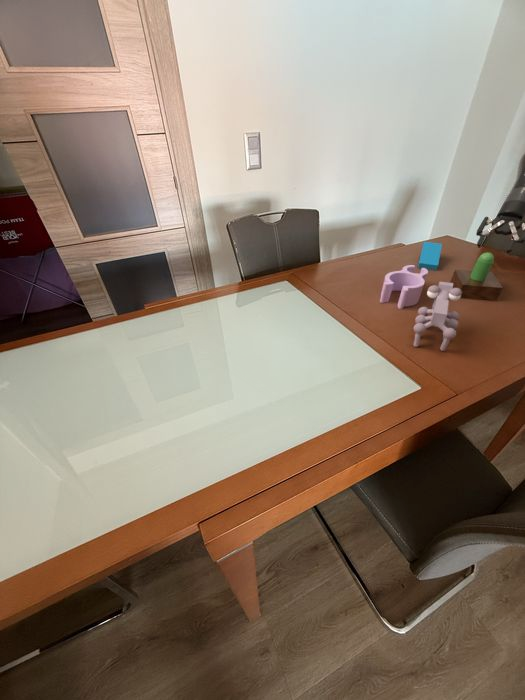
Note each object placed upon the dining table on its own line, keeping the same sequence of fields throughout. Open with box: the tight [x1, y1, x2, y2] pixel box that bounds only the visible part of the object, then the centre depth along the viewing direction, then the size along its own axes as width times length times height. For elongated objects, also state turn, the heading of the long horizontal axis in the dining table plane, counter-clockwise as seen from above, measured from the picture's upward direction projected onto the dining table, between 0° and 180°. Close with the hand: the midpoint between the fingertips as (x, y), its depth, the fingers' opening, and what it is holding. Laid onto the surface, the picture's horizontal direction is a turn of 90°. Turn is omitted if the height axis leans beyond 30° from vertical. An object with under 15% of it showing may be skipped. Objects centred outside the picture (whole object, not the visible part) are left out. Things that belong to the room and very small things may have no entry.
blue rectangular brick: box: [417, 241, 443, 271], centre depth 128 cm, size 7×7×18 cm
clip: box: [379, 264, 429, 310], centre depth 106 cm, size 20×12×7 cm, turn 137°
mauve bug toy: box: [413, 281, 462, 352], centre depth 86 cm, size 20×11×14 cm, turn 152°
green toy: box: [470, 252, 495, 281], centre depth 102 cm, size 5×5×9 cm
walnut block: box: [449, 269, 504, 302], centre depth 107 cm, size 12×12×5 cm
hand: (493, 249), depth 103 cm, fingers open, 8 cm apart
